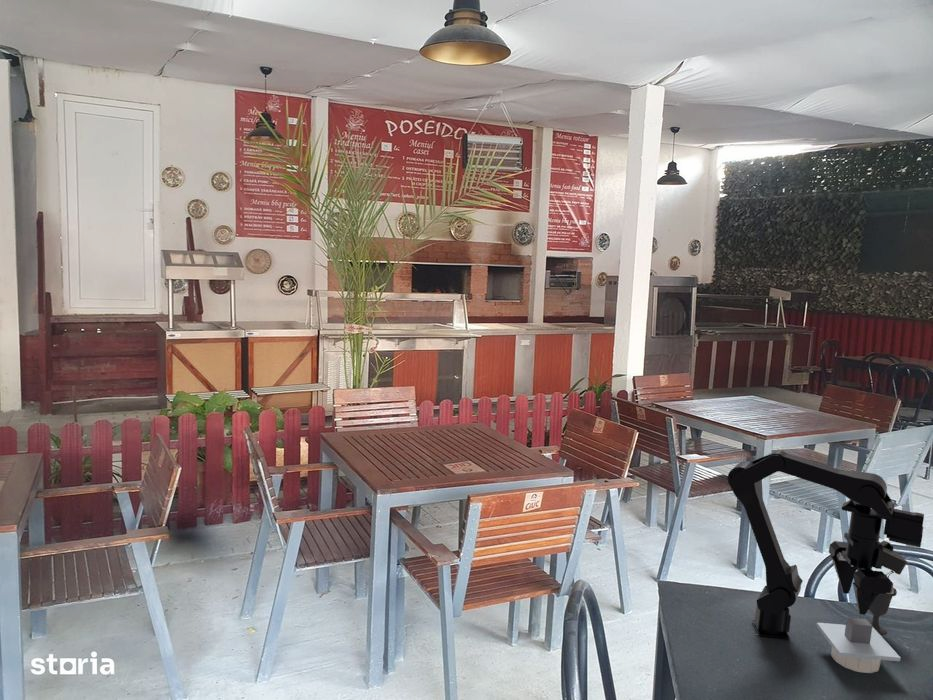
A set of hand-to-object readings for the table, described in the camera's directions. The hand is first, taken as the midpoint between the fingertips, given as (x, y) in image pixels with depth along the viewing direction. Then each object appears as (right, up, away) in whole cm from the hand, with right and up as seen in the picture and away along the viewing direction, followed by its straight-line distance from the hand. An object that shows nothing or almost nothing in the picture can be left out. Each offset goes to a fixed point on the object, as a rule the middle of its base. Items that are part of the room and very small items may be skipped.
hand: (853, 603), depth 156 cm
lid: (0, -8, -1) cm, 8 cm away
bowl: (0, -12, 0) cm, 12 cm away
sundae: (+12, -11, +13) cm, 21 cm away
